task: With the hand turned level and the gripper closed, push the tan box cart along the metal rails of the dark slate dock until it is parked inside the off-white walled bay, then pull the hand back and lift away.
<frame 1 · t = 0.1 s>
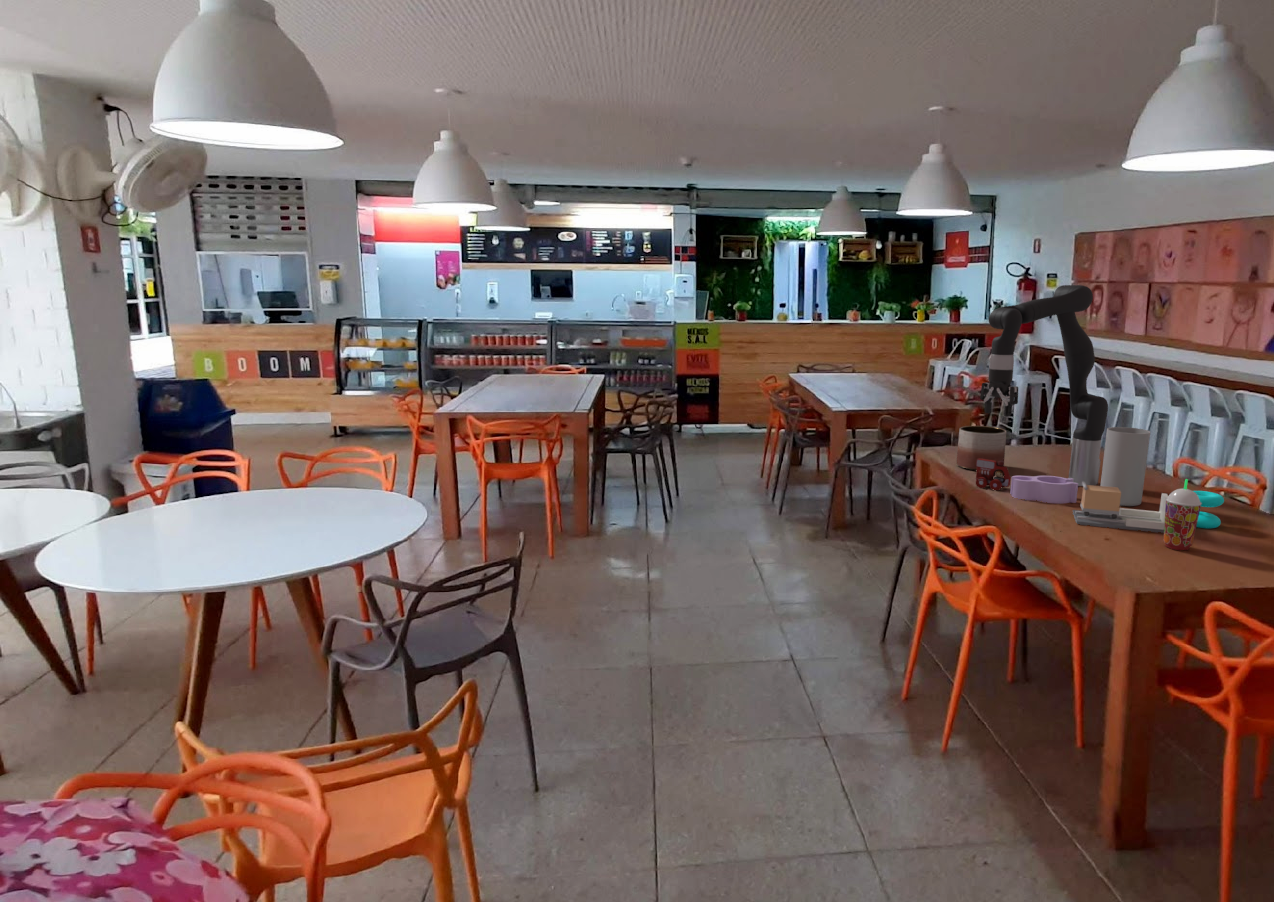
hand: (997, 414, 277), 29 cm above the table, tool pointing down, fingers open, 8 cm apart
smoothie: (1176, 548, 228), on the table
planter: (979, 467, 327), on the table
clip: (1042, 499, 280), on the table
dock: (1119, 522, 251), on the table
donuts: (1200, 525, 249), on the table
tan box cart: (1099, 500, 252), point 7 cm above the table, slide at 0.0 cm
toy fire truck: (991, 488, 295), on the table
cylinder vase: (1119, 502, 275), on the table
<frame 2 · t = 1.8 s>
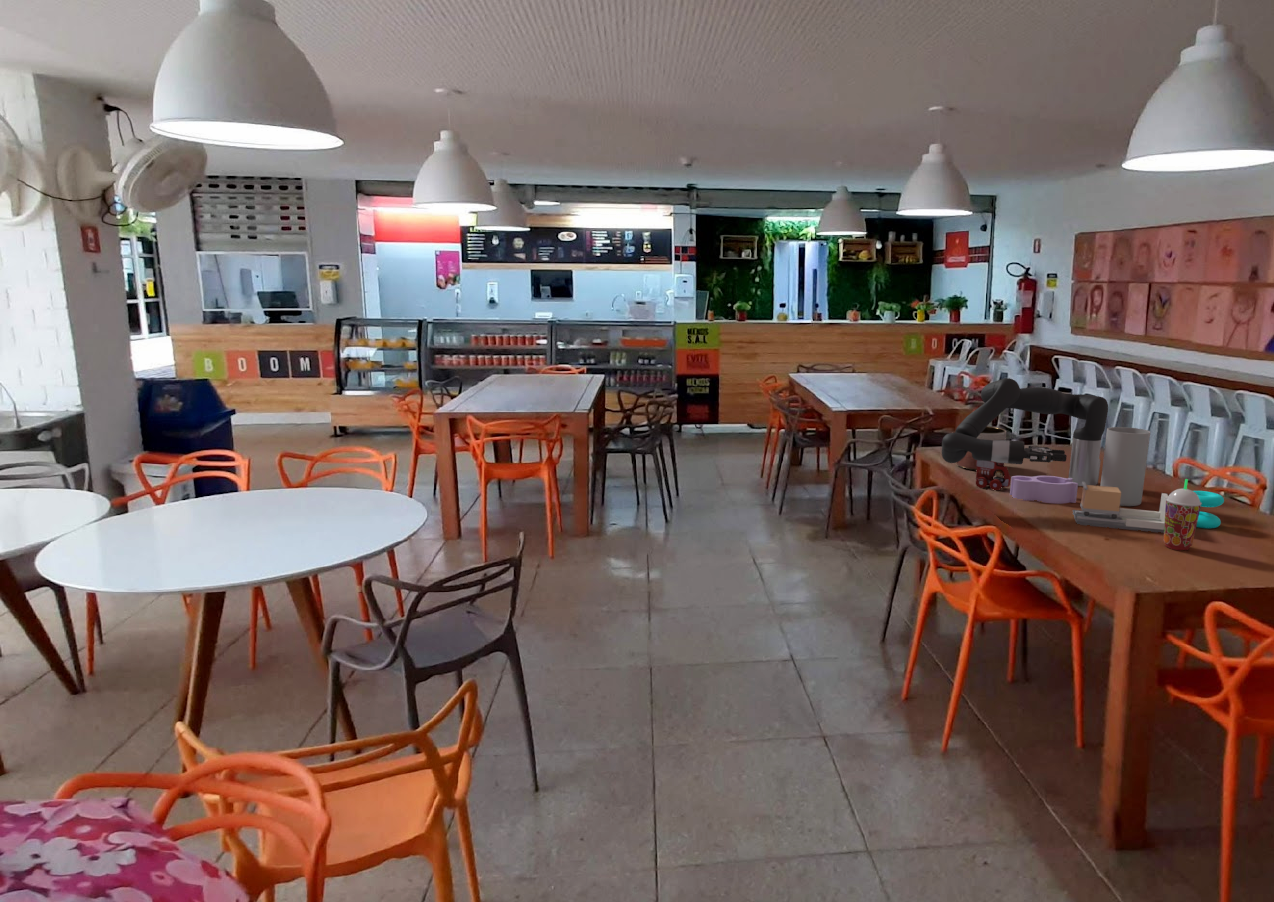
hand: (1065, 455, 254), 20 cm above the table, tool horizontal, fingers open, 6 cm apart
nothing on the table moved.
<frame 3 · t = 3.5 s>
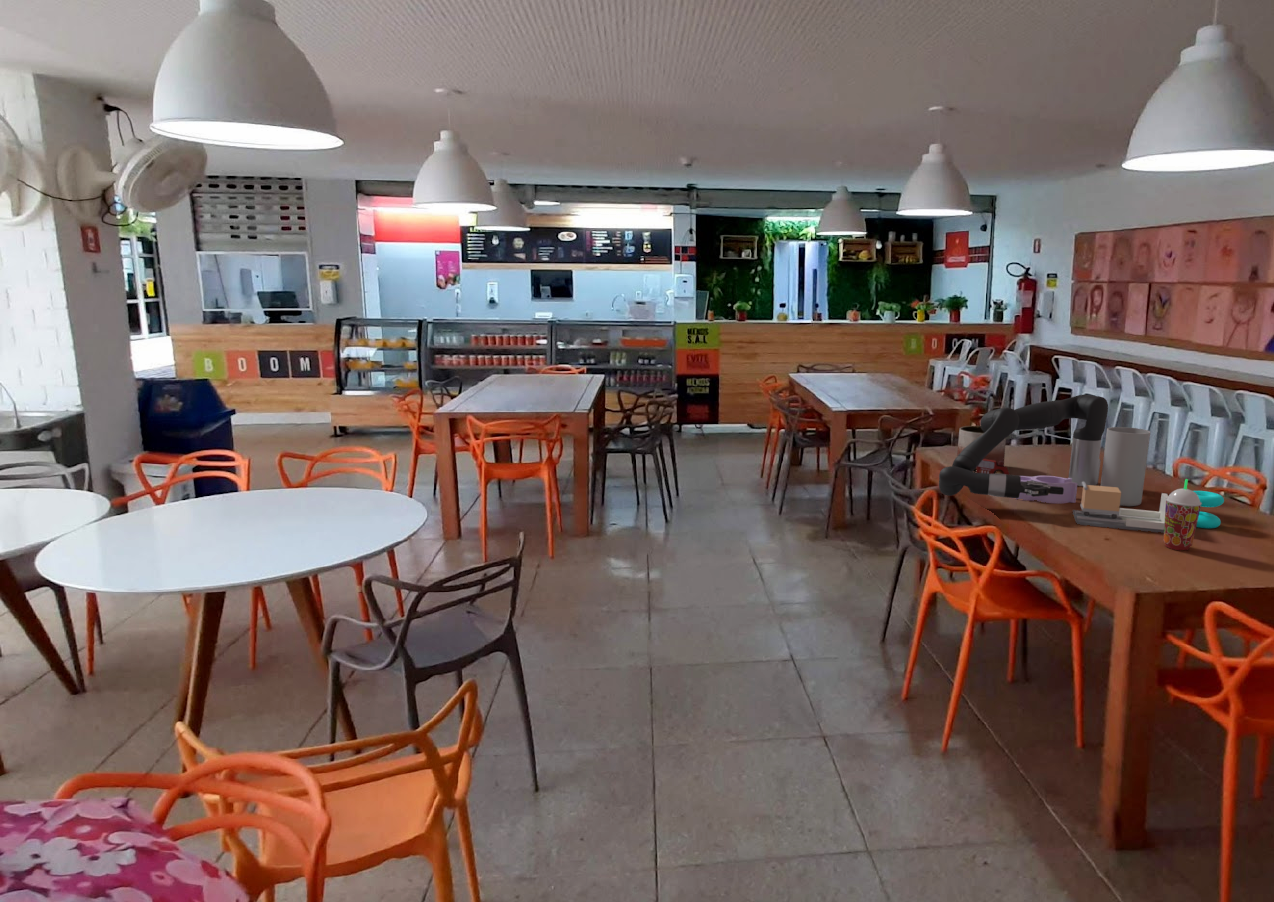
hand: (1063, 490, 256), 9 cm above the table, tool horizontal, fingers closed
nothing on the table moved.
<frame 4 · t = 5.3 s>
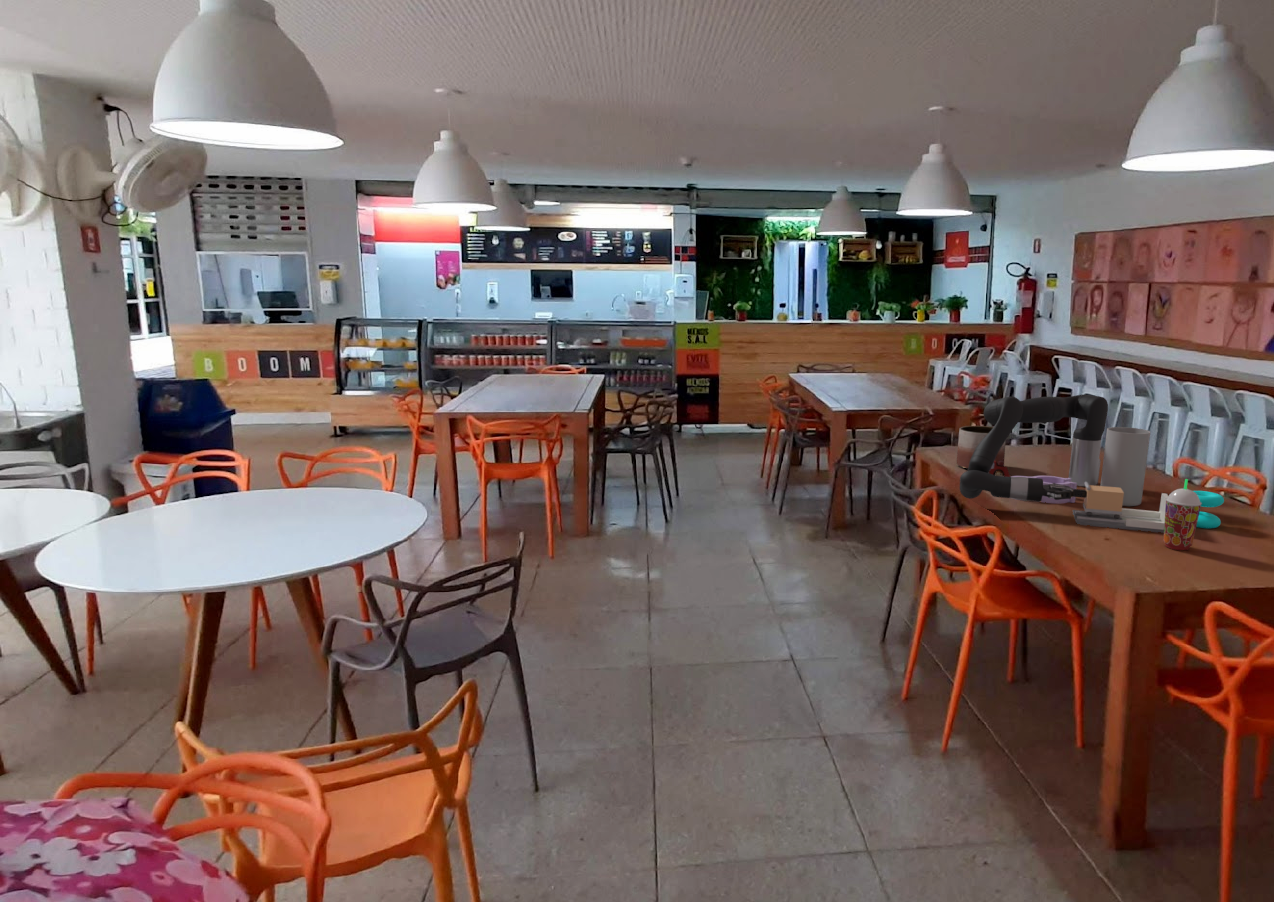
hand: (1086, 493, 254), 8 cm above the table, tool horizontal, fingers closed
tan box cart: (1102, 500, 252), point 7 cm above the table, slide at 0.7 cm, touching gripper
everything else where it was.
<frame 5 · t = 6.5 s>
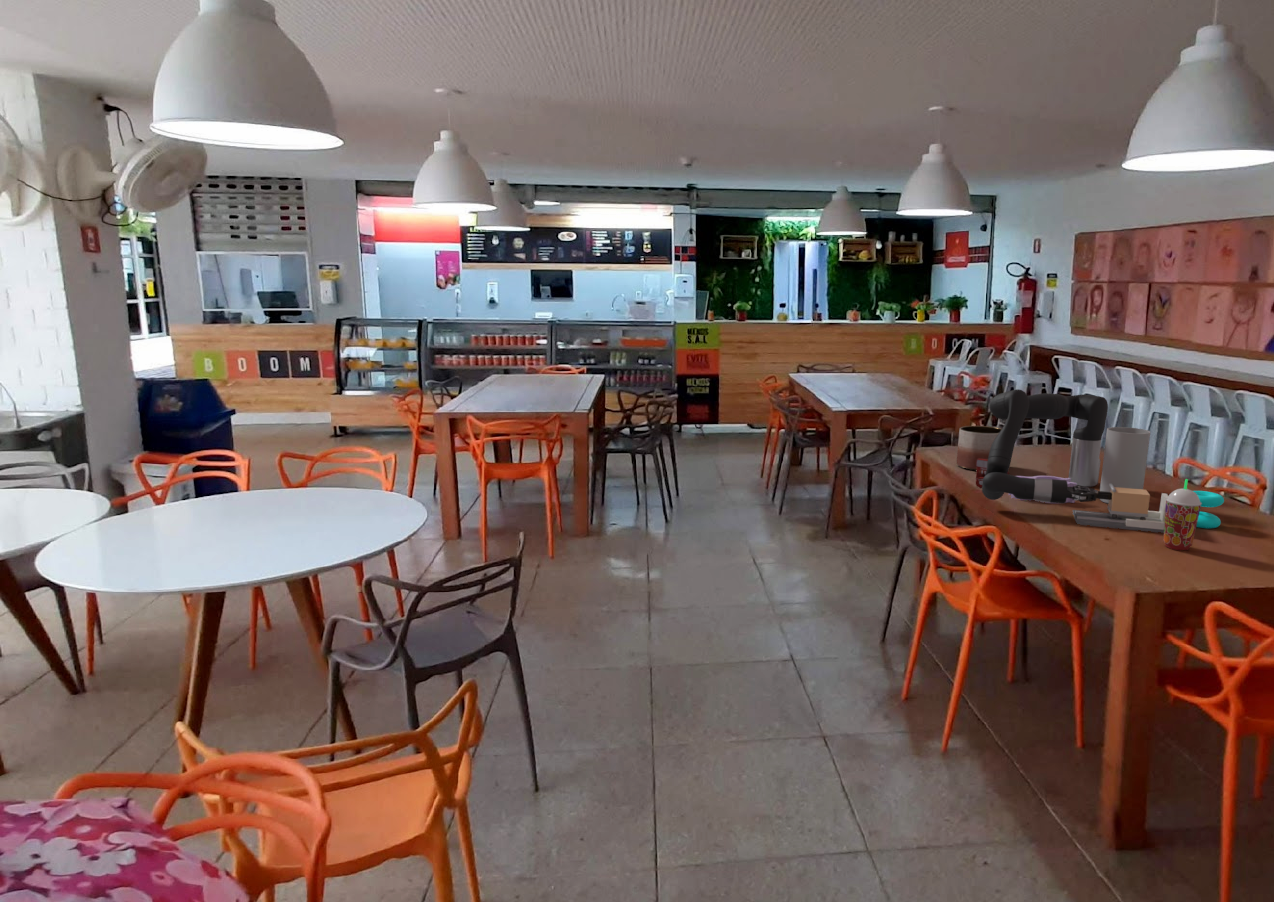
hand: (1111, 496, 251), 8 cm above the table, tool horizontal, fingers closed
tan box cart: (1127, 502, 249), point 7 cm above the table, slide at 7.6 cm, touching gripper
everything else where it was.
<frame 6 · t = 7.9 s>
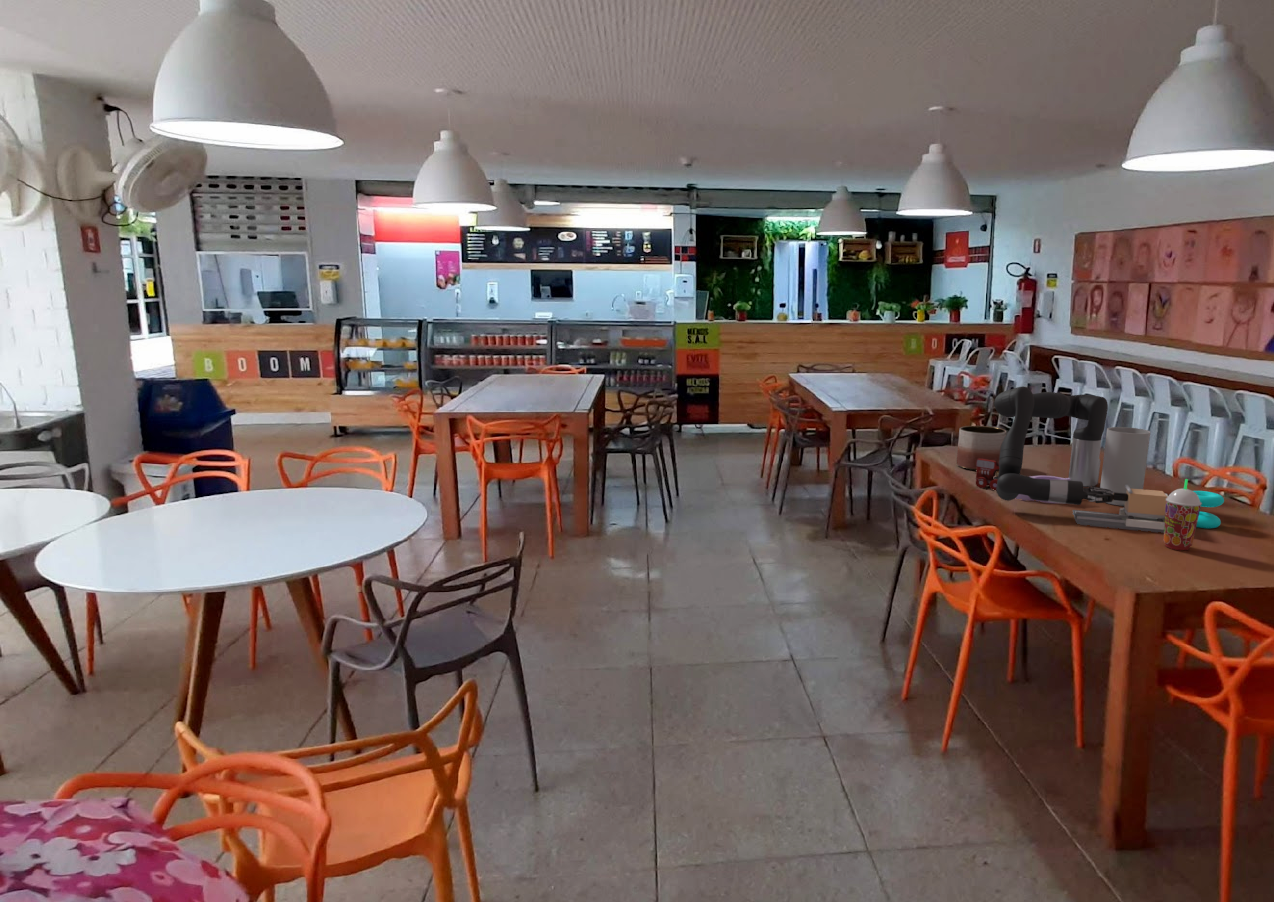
hand: (1127, 497, 249), 8 cm above the table, tool horizontal, fingers closed
tan box cart: (1144, 504, 248), point 7 cm above the table, slide at 12.0 cm, touching gripper
everything else where it was.
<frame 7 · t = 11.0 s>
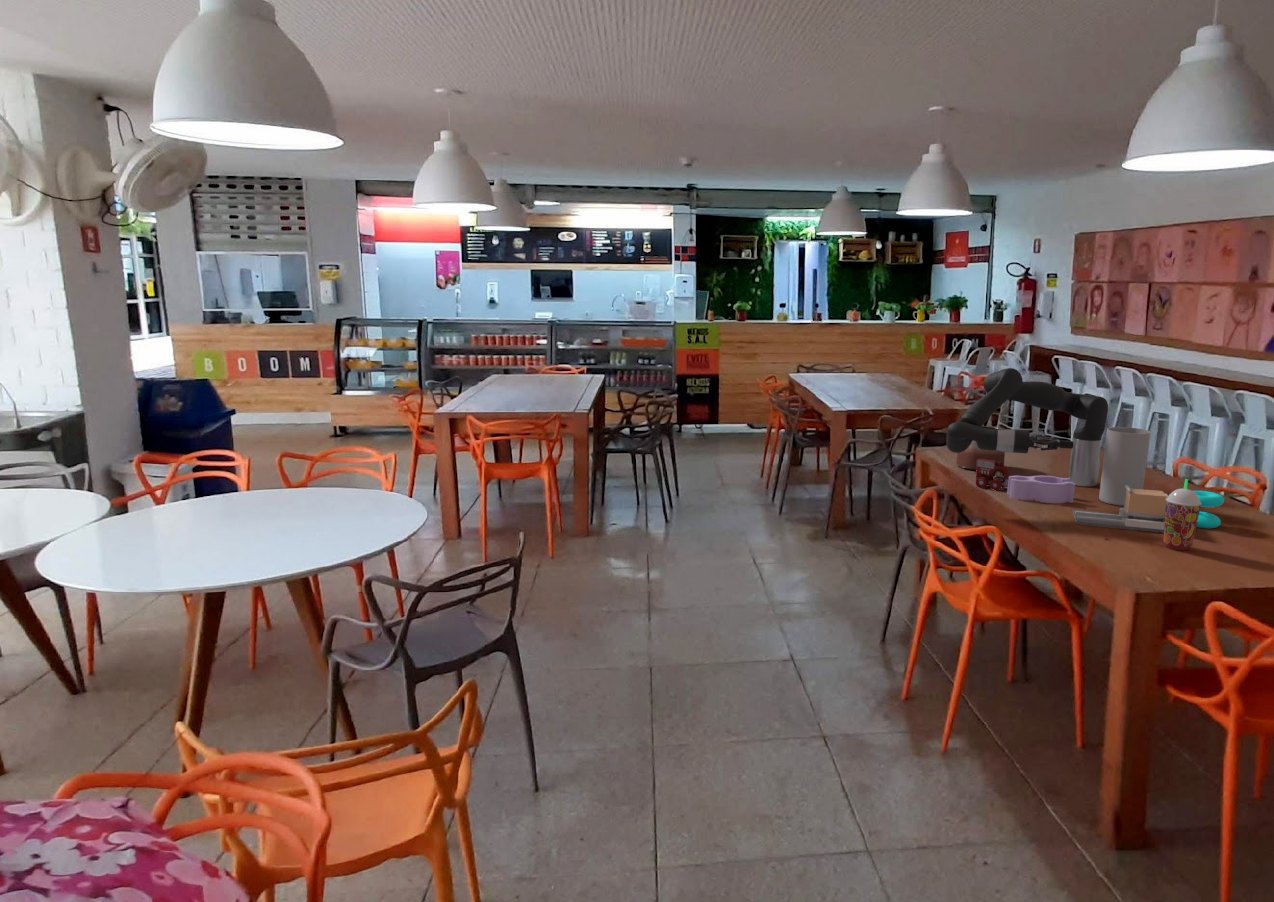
hand: (1072, 444, 252), 24 cm above the table, tool horizontal, fingers closed
tan box cart: (1144, 504, 248), point 7 cm above the table, slide at 12.0 cm
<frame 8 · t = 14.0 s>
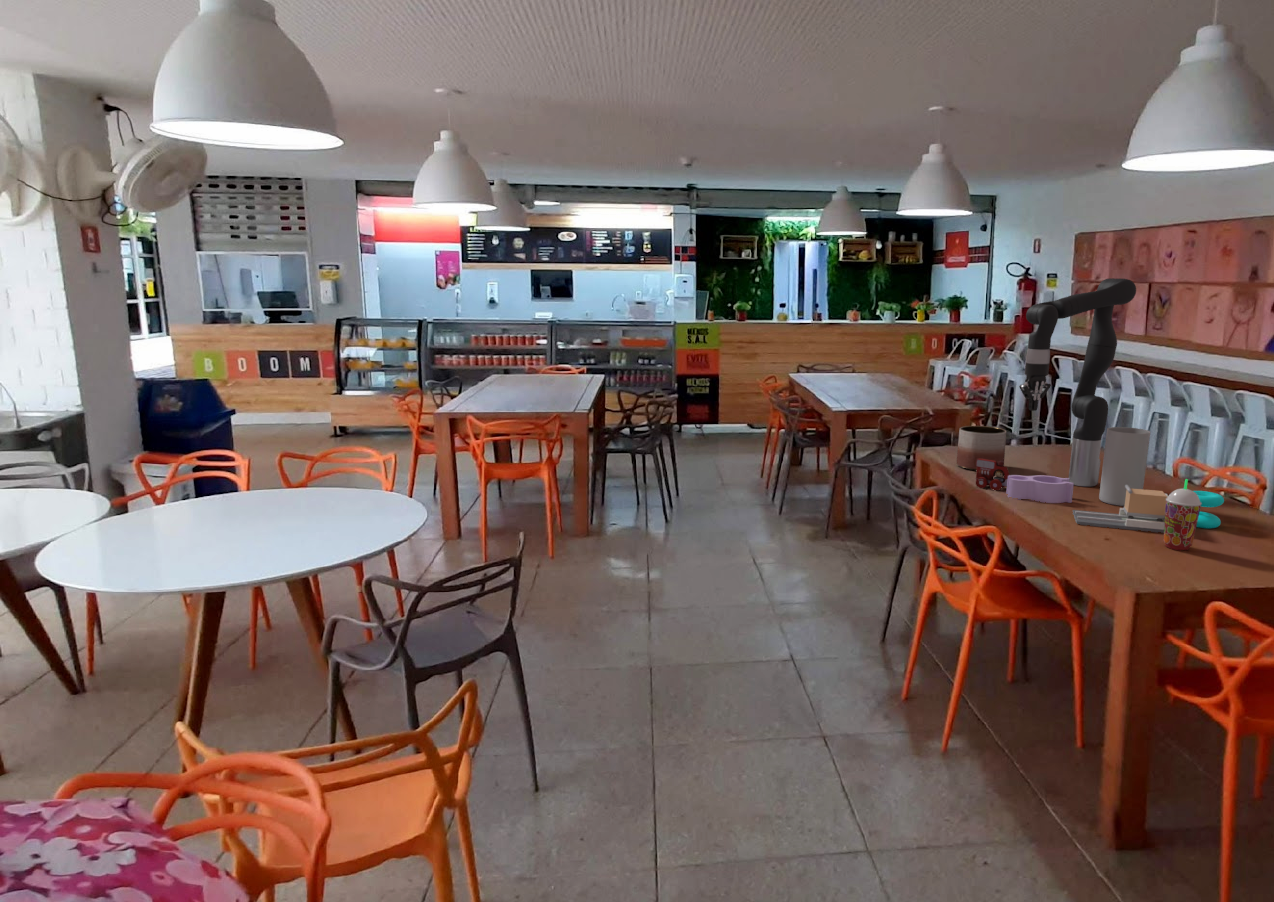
hand: (1032, 410, 287), 29 cm above the table, tool pointing down, fingers closed
at the end: tan box cart slide at 12.0 cm; the gripper is holding nothing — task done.
